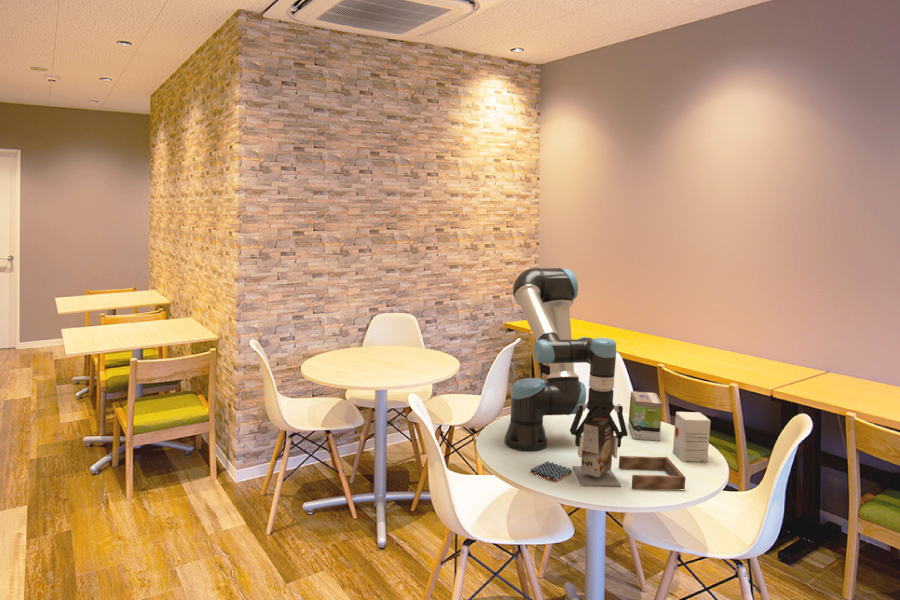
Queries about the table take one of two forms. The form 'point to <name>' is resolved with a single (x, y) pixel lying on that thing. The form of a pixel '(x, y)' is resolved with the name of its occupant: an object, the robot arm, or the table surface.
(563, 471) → the woven mat
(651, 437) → the tea box
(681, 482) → the frame
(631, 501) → the table surface
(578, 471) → the slate mat
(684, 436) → the supplement box
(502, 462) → the table surface
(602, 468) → the coffee box
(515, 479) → the table surface
